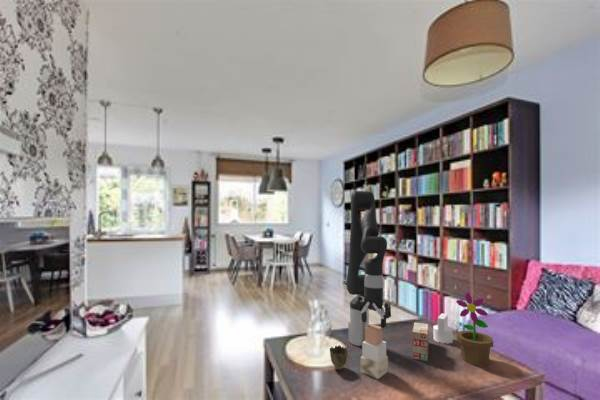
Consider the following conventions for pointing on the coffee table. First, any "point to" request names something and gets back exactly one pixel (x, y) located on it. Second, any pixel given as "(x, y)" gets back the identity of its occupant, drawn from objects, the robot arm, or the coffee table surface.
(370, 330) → the tan block
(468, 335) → the flowerpot
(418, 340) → the stack of blocks
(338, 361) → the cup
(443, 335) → the cylinder with rectangular tab
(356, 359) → the coffee table surface
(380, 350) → the cream middle block
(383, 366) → the maple base block
